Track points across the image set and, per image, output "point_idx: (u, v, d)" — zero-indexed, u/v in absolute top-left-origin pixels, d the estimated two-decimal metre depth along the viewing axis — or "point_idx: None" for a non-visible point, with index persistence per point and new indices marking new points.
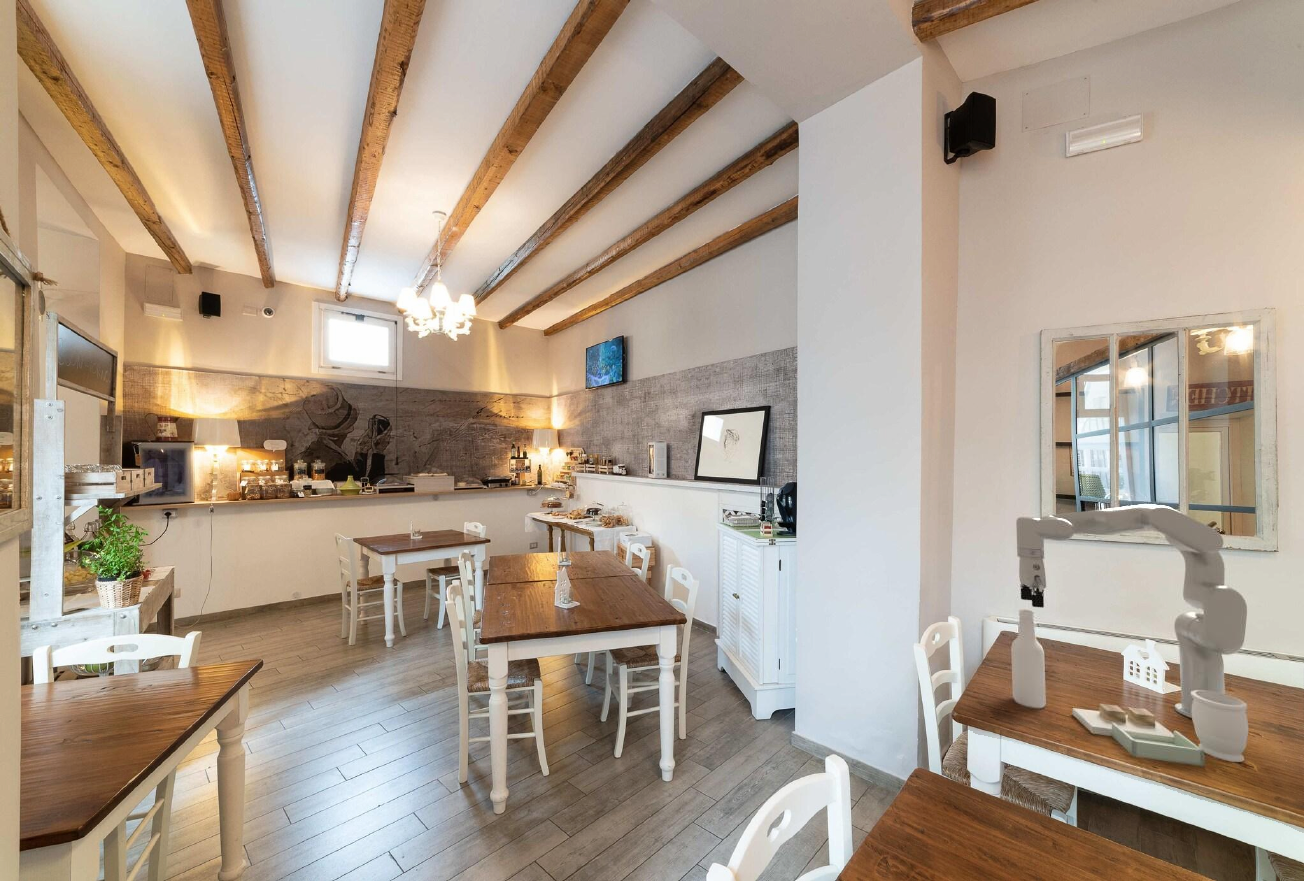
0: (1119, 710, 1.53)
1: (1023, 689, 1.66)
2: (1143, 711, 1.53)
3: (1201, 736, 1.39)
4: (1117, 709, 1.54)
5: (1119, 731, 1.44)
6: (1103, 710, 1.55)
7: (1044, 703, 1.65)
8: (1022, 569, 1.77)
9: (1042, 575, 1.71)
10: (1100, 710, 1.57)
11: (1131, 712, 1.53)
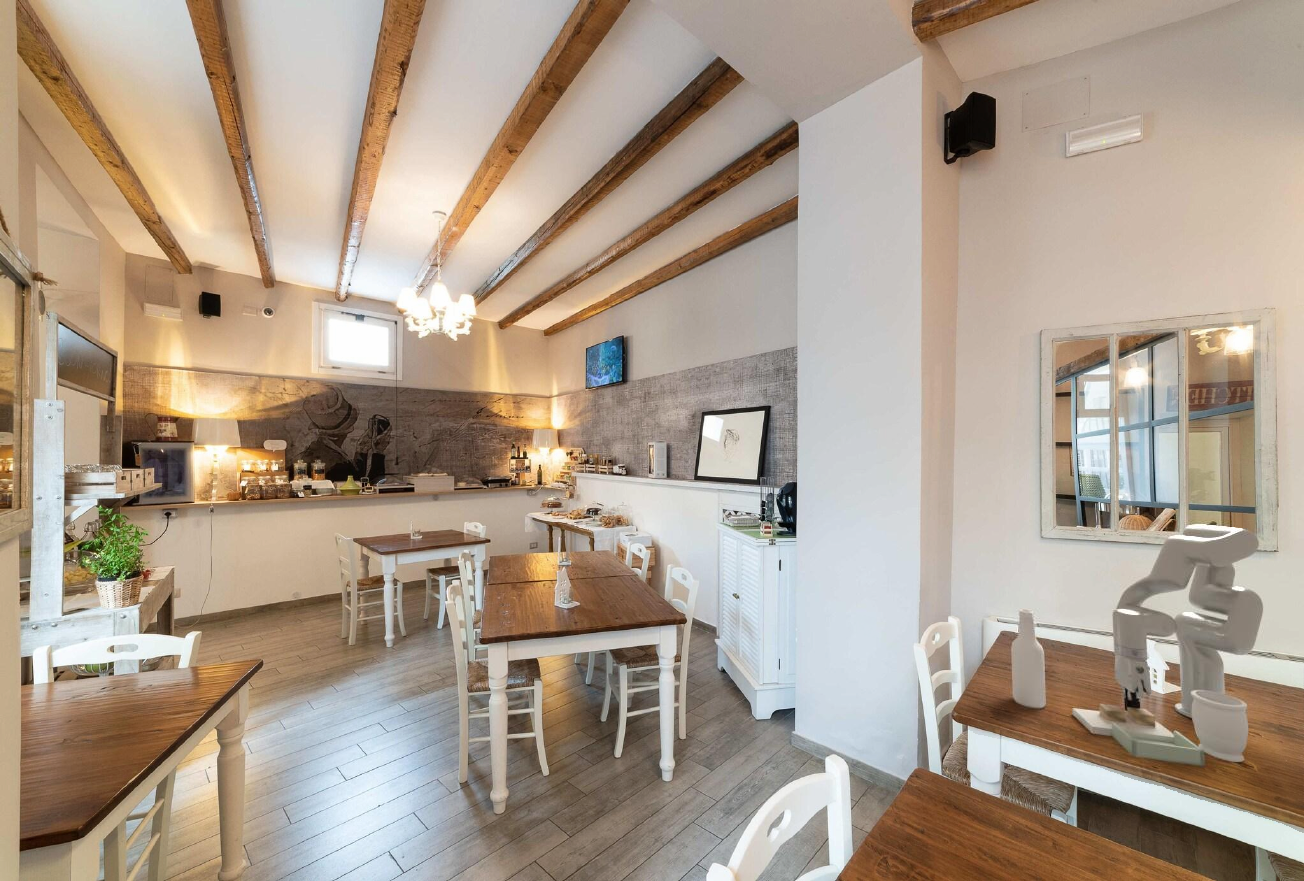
0: (1119, 710, 1.53)
1: (1023, 689, 1.66)
2: (1143, 711, 1.53)
3: (1201, 736, 1.39)
4: (1117, 709, 1.54)
5: (1119, 731, 1.44)
6: (1103, 710, 1.55)
7: (1044, 703, 1.65)
8: (1120, 669, 1.58)
9: (1147, 680, 1.52)
10: (1100, 710, 1.57)
11: (1131, 712, 1.53)
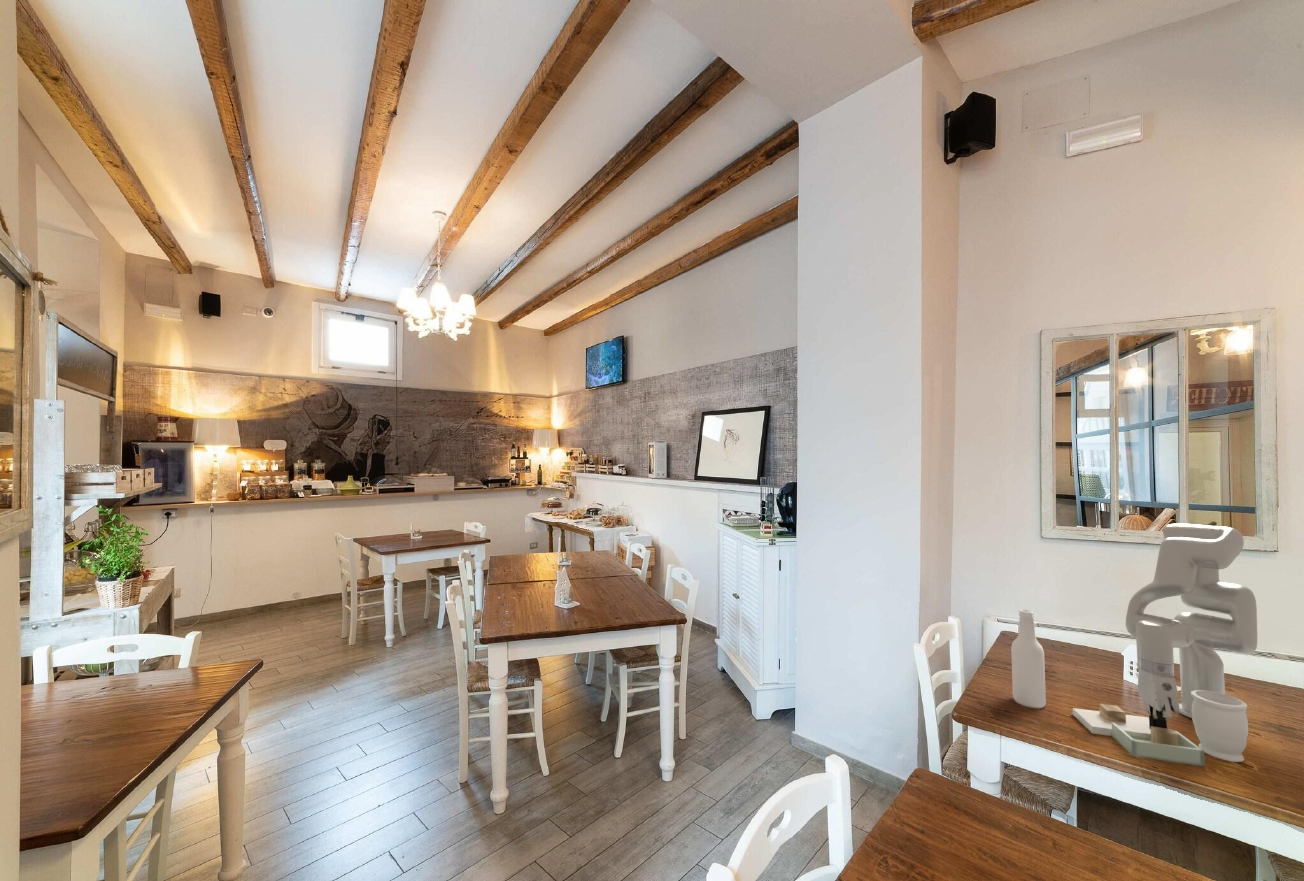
0: (1119, 710, 1.53)
1: (1023, 689, 1.66)
2: (1172, 739, 1.40)
3: (1201, 736, 1.39)
4: (1117, 709, 1.54)
5: (1119, 731, 1.44)
6: (1103, 710, 1.55)
7: (1044, 703, 1.65)
8: (1145, 685, 1.46)
9: (1174, 697, 1.40)
10: (1100, 710, 1.57)
11: (1155, 738, 1.42)
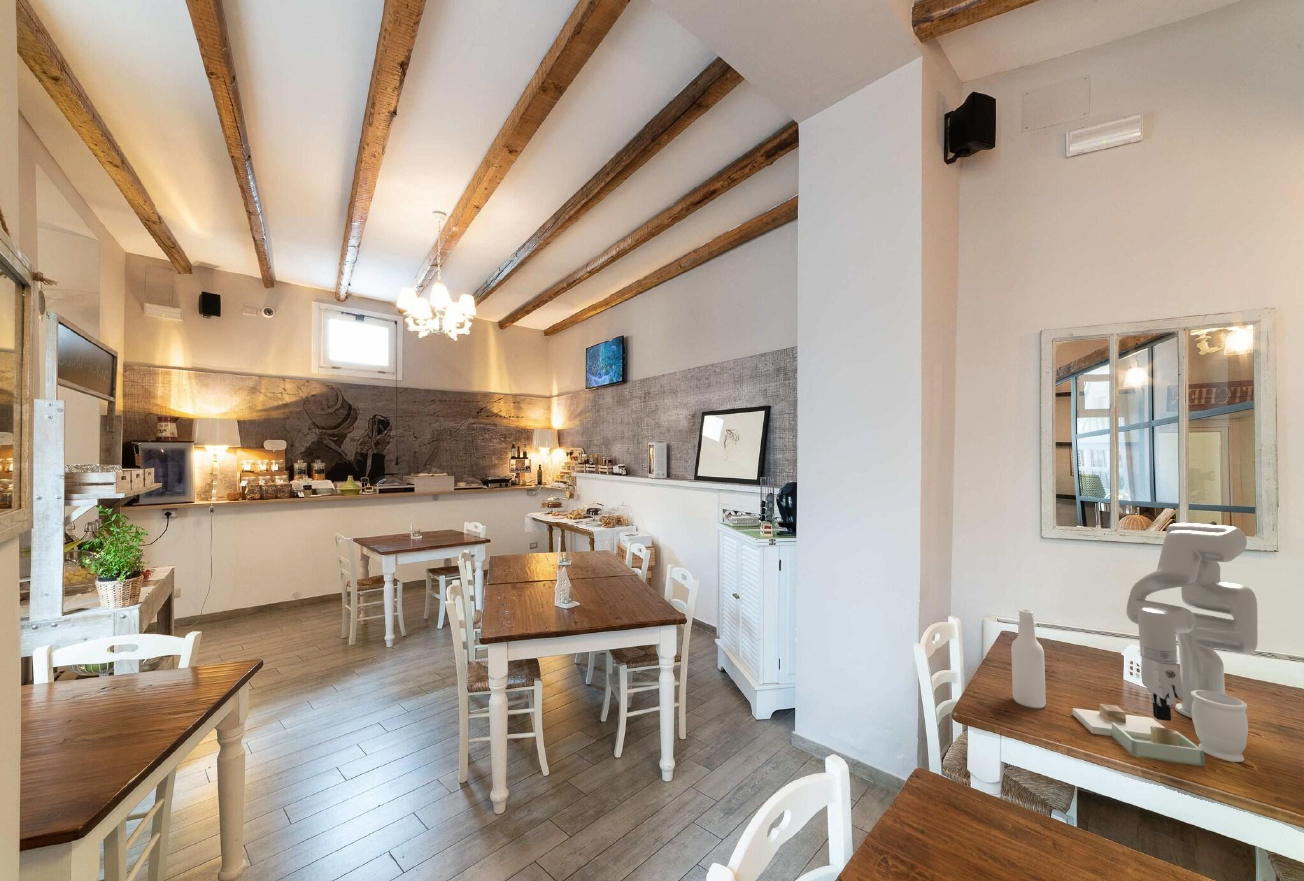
0: (1119, 710, 1.53)
1: (1023, 689, 1.66)
2: (1172, 739, 1.40)
3: (1201, 736, 1.39)
4: (1117, 709, 1.54)
5: (1119, 731, 1.44)
6: (1103, 710, 1.55)
7: (1044, 703, 1.65)
8: (1148, 672, 1.45)
9: (1178, 684, 1.39)
10: (1100, 710, 1.57)
11: (1155, 738, 1.42)
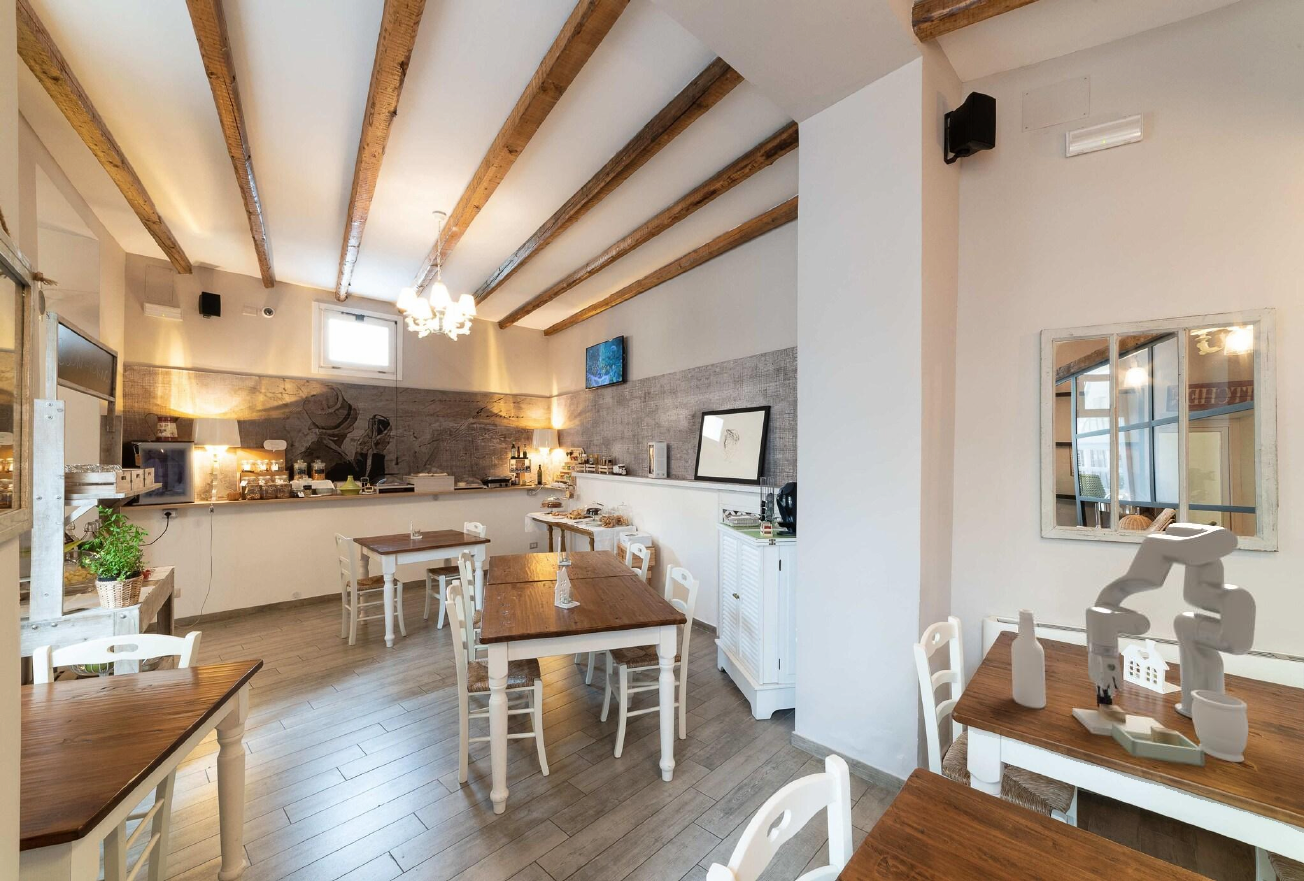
0: (1119, 710, 1.53)
1: (1023, 689, 1.66)
2: (1172, 739, 1.40)
3: (1201, 736, 1.39)
4: (1117, 709, 1.54)
5: (1119, 731, 1.44)
6: (1103, 710, 1.55)
7: (1044, 703, 1.65)
8: (1093, 666, 1.60)
9: (1118, 676, 1.54)
10: (1100, 710, 1.57)
11: (1155, 738, 1.42)
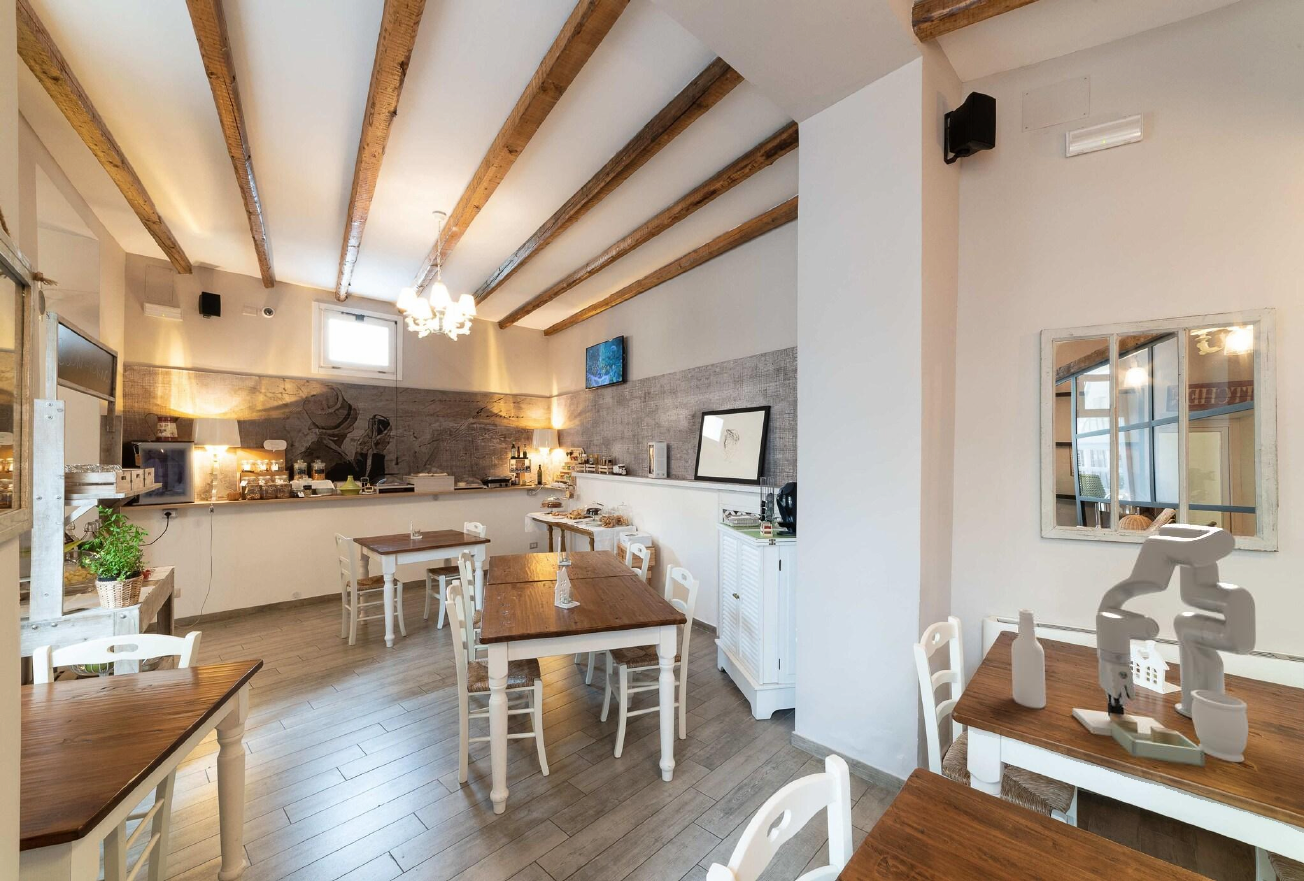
0: (1130, 720, 1.47)
1: (1023, 689, 1.66)
2: (1172, 739, 1.40)
3: (1201, 736, 1.40)
4: (1128, 719, 1.48)
5: (1119, 731, 1.44)
6: (1113, 719, 1.49)
7: (1044, 703, 1.65)
8: (1104, 674, 1.54)
9: (1130, 685, 1.48)
10: (1111, 720, 1.51)
11: (1155, 738, 1.42)
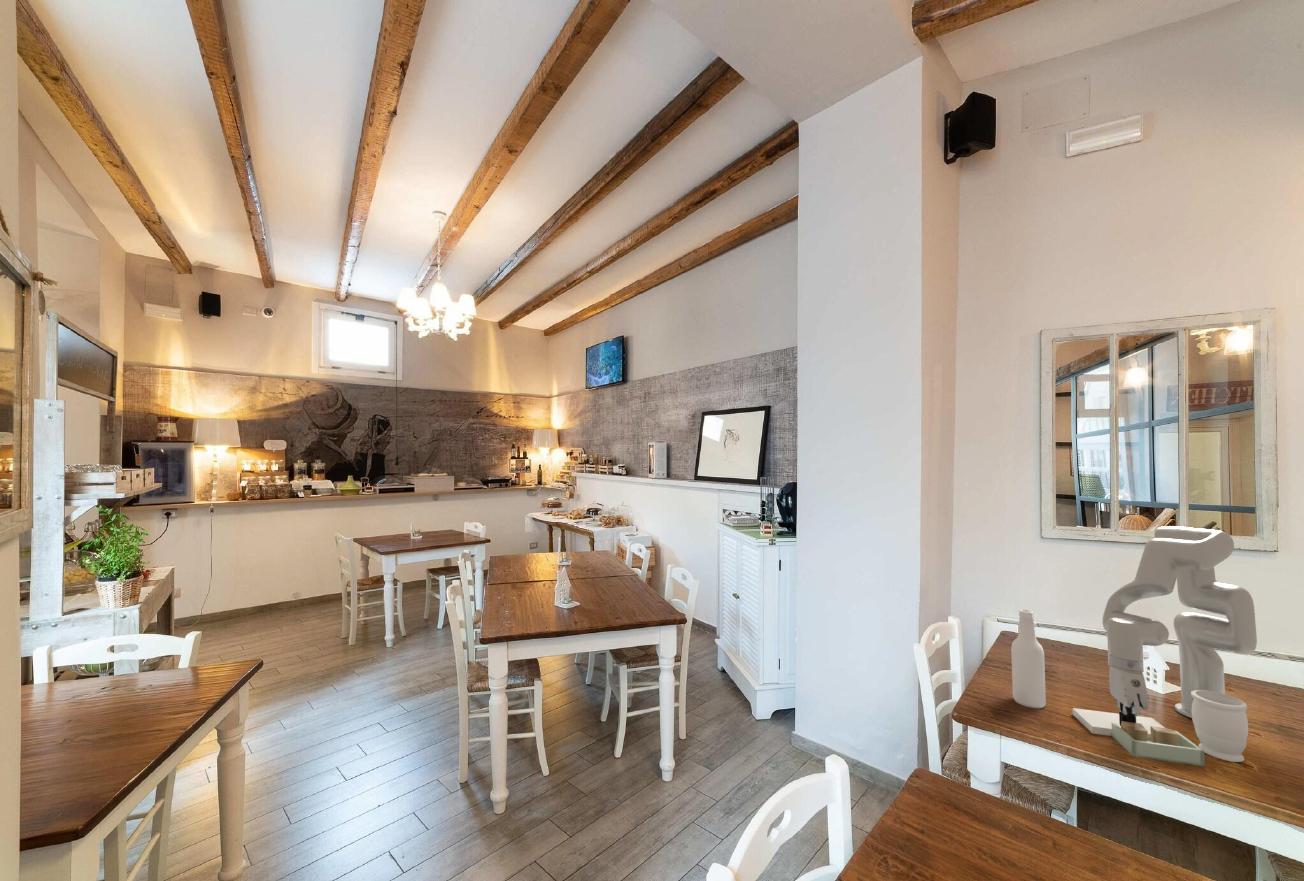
0: None
1: (1023, 689, 1.66)
2: (1172, 739, 1.40)
3: (1201, 736, 1.39)
4: (1141, 739, 1.42)
5: (1119, 731, 1.44)
6: None
7: (1044, 703, 1.65)
8: (1115, 681, 1.48)
9: (1143, 694, 1.42)
10: (1123, 726, 1.44)
11: (1155, 738, 1.42)
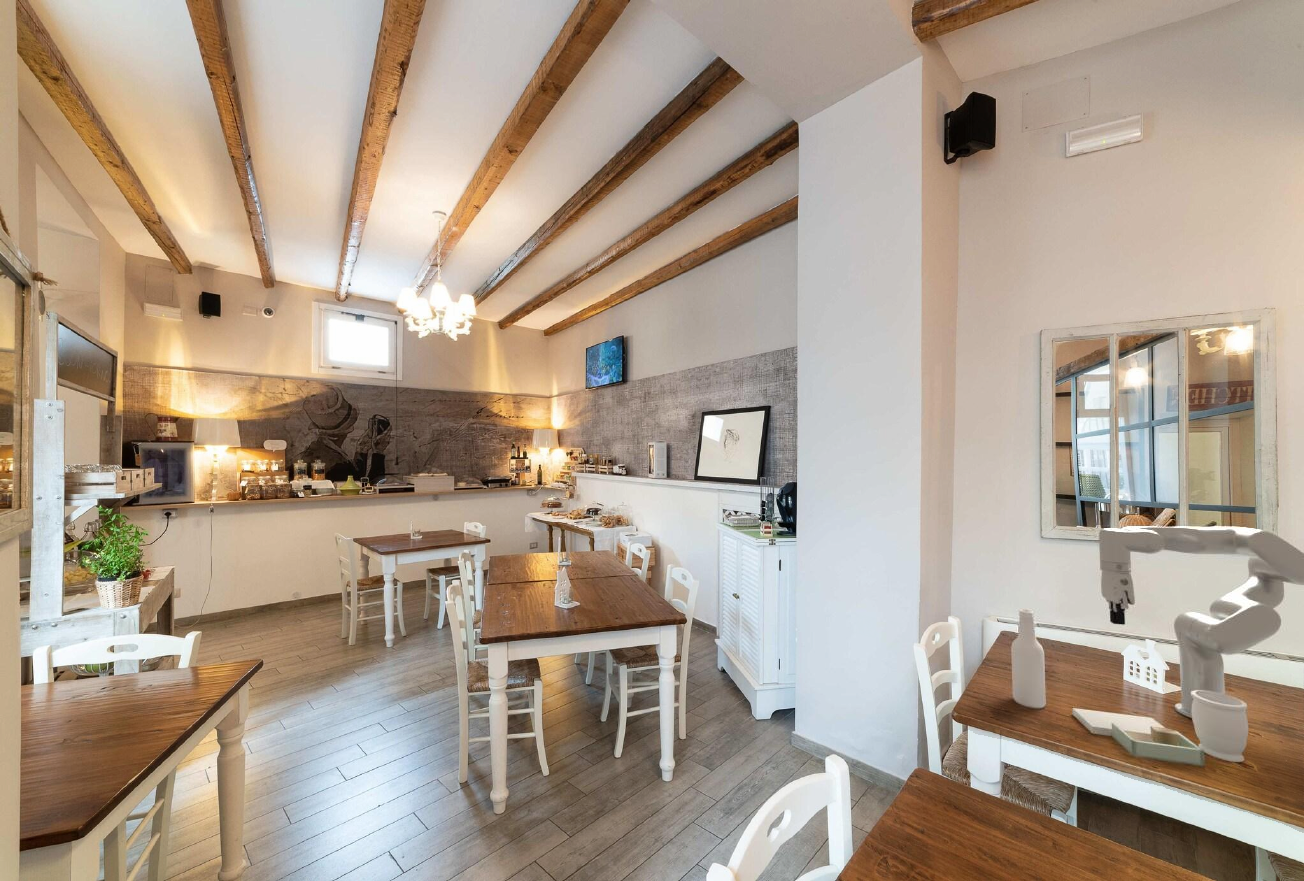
0: None
1: (1023, 689, 1.66)
2: (1172, 739, 1.40)
3: (1201, 736, 1.39)
4: None
5: (1119, 731, 1.44)
6: None
7: (1044, 703, 1.65)
8: (1106, 583, 1.68)
9: (1130, 590, 1.62)
10: None
11: (1155, 738, 1.42)
